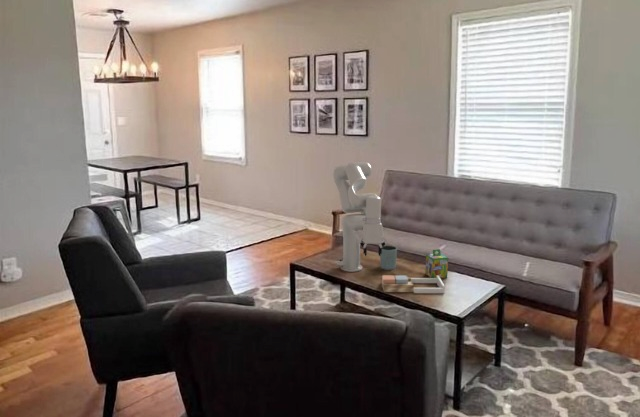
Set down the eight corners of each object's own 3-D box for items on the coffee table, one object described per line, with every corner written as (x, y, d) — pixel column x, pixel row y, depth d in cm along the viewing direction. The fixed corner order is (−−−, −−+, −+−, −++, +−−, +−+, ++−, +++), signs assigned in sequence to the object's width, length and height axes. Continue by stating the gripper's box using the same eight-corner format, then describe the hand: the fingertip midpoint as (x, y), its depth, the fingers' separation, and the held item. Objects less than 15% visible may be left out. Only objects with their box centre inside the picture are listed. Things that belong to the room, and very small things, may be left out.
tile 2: (396, 286, 256) (396, 279, 255) (394, 281, 262) (394, 275, 261) (407, 286, 256) (408, 279, 255) (406, 281, 262) (406, 275, 261)
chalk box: (432, 279, 271) (433, 253, 268) (424, 274, 280) (425, 248, 277) (447, 277, 273) (449, 251, 270) (439, 272, 282) (440, 247, 279)
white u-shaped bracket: (414, 293, 252) (414, 285, 251) (409, 282, 267) (409, 275, 266) (444, 293, 252) (444, 285, 251) (438, 282, 266) (438, 275, 265)
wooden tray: (383, 291, 254) (383, 285, 253) (381, 283, 266) (381, 277, 265) (413, 291, 253) (413, 285, 253) (410, 283, 265) (410, 277, 264)
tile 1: (383, 285, 256) (383, 279, 256) (382, 281, 262) (382, 275, 262) (395, 286, 256) (395, 279, 256) (393, 281, 262) (393, 275, 261)
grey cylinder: (397, 270, 286) (398, 250, 283) (379, 270, 286) (380, 250, 284) (395, 264, 296) (395, 245, 293) (378, 264, 296) (378, 245, 293)
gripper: (356, 222, 249) (355, 257, 253) (391, 222, 249) (390, 257, 252) (355, 219, 256) (355, 252, 260) (389, 218, 256) (388, 252, 260)
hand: (372, 254), depth 256 cm, fingers open, 6 cm apart
